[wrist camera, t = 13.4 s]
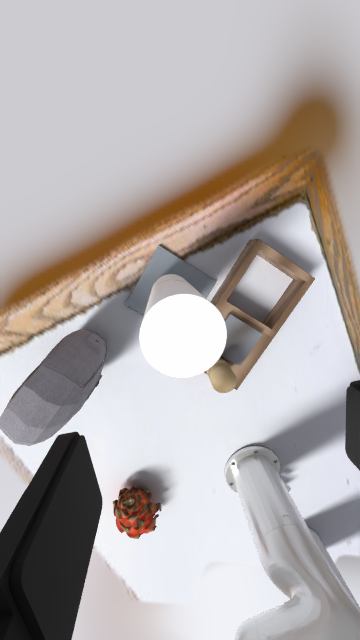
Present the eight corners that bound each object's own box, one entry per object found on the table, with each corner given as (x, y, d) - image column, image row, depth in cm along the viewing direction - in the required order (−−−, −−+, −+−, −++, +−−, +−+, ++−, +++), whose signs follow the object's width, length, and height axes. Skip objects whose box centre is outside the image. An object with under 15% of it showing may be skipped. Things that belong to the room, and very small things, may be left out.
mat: (215, 281, 45) (216, 281, 44) (181, 335, 47) (181, 336, 46) (158, 245, 42) (158, 245, 42) (125, 304, 44) (124, 304, 44)
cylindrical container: (186, 316, 45) (214, 383, 21) (147, 309, 44) (132, 369, 20) (195, 278, 44) (236, 304, 20) (155, 270, 43) (148, 285, 19)
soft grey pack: (88, 314, 44) (33, 357, 25) (126, 340, 46) (102, 398, 27) (43, 376, 47) (-39, 459, 27) (82, 398, 48) (30, 492, 29)
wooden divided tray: (302, 277, 46) (340, 281, 36) (230, 379, 50) (247, 408, 40) (249, 240, 44) (275, 235, 34) (178, 351, 48) (184, 375, 38)
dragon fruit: (124, 468, 55) (154, 494, 60) (95, 507, 51) (130, 532, 55) (143, 487, 48) (175, 515, 53) (112, 534, 44) (150, 559, 49)
